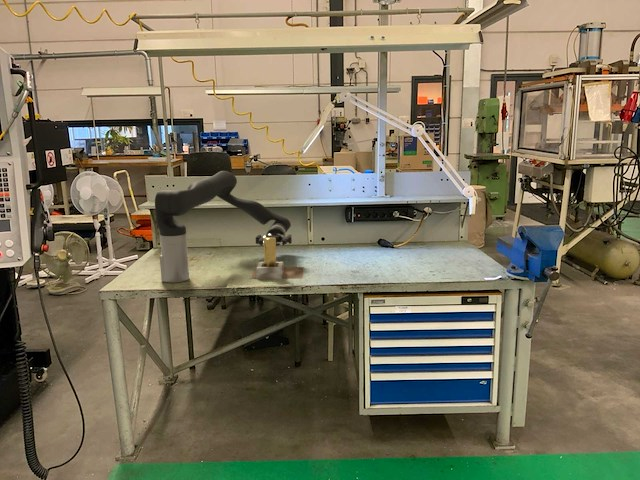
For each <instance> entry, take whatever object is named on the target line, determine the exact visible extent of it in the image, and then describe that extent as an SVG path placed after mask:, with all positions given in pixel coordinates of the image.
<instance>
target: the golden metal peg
mask: <svg viewBox="0 0 640 480" xmlns="http://www.w3.org/2000/svg"><path fill="white" fill-rule="evenodd" d="M263 241H264V244H263V258H264V259H263V262H264V267H276V262H277V246H276V238H274V237H266V238H264V240H263Z"/></svg>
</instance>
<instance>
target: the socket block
mask: <svg viewBox="0 0 640 480" xmlns="http://www.w3.org/2000/svg"><path fill="white" fill-rule="evenodd" d="M304 268H305V267H304V266H295V267H293V266H292V267H291V266H290V267H289V266H287V267H286V266H285V267H284V261H276V267H264V261H259V262H258V264H257V266H256V267H255V269H254V271H253V272H252V274H251V275H250V277H249V279H250V280H269V279H270V280H272V279H273V280H274V279H276V280H277V279H278V280H279V279H280V280H281V279H283V280H284V279H285V280H286V279H290V280H291V279H292V280H293V279H297V280H298V279H300V280H301V279H303V276H304V270H305V269H304Z"/></svg>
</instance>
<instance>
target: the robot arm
mask: <svg viewBox="0 0 640 480" xmlns="http://www.w3.org/2000/svg"><path fill="white" fill-rule="evenodd" d="M237 184H238V181H237V177H236V176H235V174H234V173H233V172H230V171H228V170H220V171H218V172H217V173H215V174H214V175H211V176H208V177H205V178H203V179H199V180H196V181H193V182H192V183H190V185H189V186H188V187H187V189H182V190H181V189H161V190H159V191H157V193H156V195H155V197H154V208H155V210H154V211H155V215H156V216H155V217H156V224H157V228H158V230H159V242H160V250H161V251H160V252H161V253H160V254H161V255H159V264H160V276H161V277H160V278H161V282H165V283H174V284H175V283H181V282H182V283H183V282H185V281H188V280H189V279H190V269H189V267H190V266H189V256H188V253H189V251H188V242H187V241H188V239H187V237H188V236H187V228H186V226H185V225H184V224H183V223H180V222H178V221H177V220H176V219H175V218H174V217H180V216H184V215H185V214H187V213H189V212H190V211H193V209H195V208H196V207H199V206H201V205H204V204H207V203H209V202H210V201H212V200H214V199H215V198H216V197H217V198H219V199H221V200H222V201H224V202H226V203H227V204H230V205H231V206H233V207H234V208H237V209H239V210H240V211H243V212H244V213H246V214H247V215H249V216H250V217H251V218H252V219H254V220H255V221H257V222H259V223H260V224H261V225H266V224H268V223H269V222H270V221H274V222H273V224H272V225H271V226H270V227H269V229H268V231H266V235H265V234H264V235H263V236H262V235H261V234H258V235H257V236H255V244H256V245H260V246H264V238H266V237H274V238H276V247H277V246H281V245H282V246H285V245H287V244H292V241H293V240H292V239H293V238H292V236H293V235H292V234H287V235H286V233H287V232H288V231H289V229H290V228H291V226H292V225H291V221H290V220H289V219H288V218H286V217H284V216H282V215H279V214H276V213H274V212H273V211H270V210H269V209H268V208H267V207H265V206H264V205H263V204H261V203H260V202H257V201H255V200H250V199H243V198H239V197H236V196H234V195H233V194H232V191H233V190H234V189H235V188H236V186H237Z"/></svg>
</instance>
